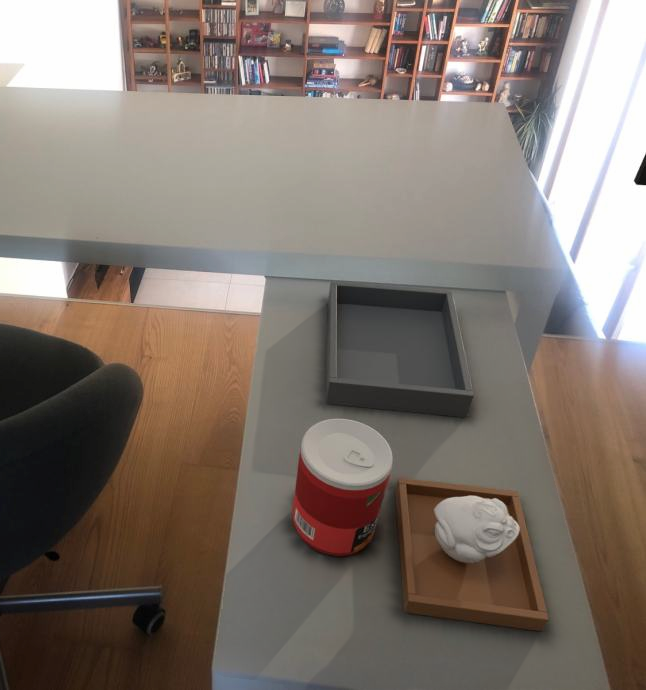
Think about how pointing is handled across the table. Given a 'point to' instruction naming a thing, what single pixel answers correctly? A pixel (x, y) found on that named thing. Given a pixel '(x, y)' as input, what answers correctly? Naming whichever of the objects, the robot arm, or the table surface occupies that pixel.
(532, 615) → the tray
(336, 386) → the tub
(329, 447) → the canned food
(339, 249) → the table surface
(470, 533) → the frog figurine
